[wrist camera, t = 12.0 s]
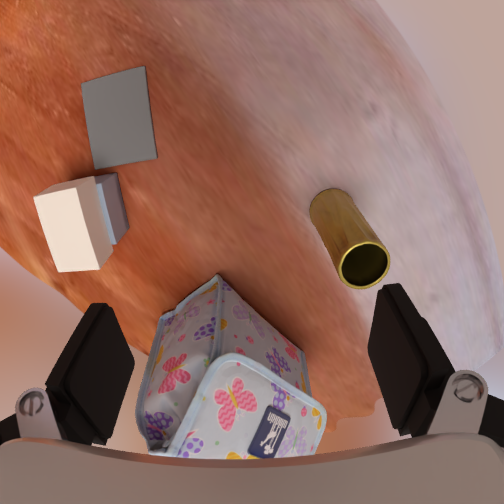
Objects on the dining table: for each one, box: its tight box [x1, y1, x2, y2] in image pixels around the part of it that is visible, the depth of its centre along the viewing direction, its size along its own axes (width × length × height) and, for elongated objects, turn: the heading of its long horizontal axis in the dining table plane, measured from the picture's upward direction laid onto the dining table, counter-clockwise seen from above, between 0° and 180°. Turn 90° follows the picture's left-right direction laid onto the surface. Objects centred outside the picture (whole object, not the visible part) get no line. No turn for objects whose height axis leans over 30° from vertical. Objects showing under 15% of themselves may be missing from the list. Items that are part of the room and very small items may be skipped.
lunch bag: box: [135, 274, 327, 459], centre depth 39 cm, size 22×17×26 cm
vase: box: [310, 189, 390, 289], centre depth 34 cm, size 6×6×14 cm
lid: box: [33, 176, 113, 272], centre depth 34 cm, size 10×6×4 cm, turn 5°
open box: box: [94, 172, 129, 244], centre depth 38 cm, size 8×8×5 cm
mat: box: [81, 66, 158, 170], centre depth 35 cm, size 12×9×1 cm
